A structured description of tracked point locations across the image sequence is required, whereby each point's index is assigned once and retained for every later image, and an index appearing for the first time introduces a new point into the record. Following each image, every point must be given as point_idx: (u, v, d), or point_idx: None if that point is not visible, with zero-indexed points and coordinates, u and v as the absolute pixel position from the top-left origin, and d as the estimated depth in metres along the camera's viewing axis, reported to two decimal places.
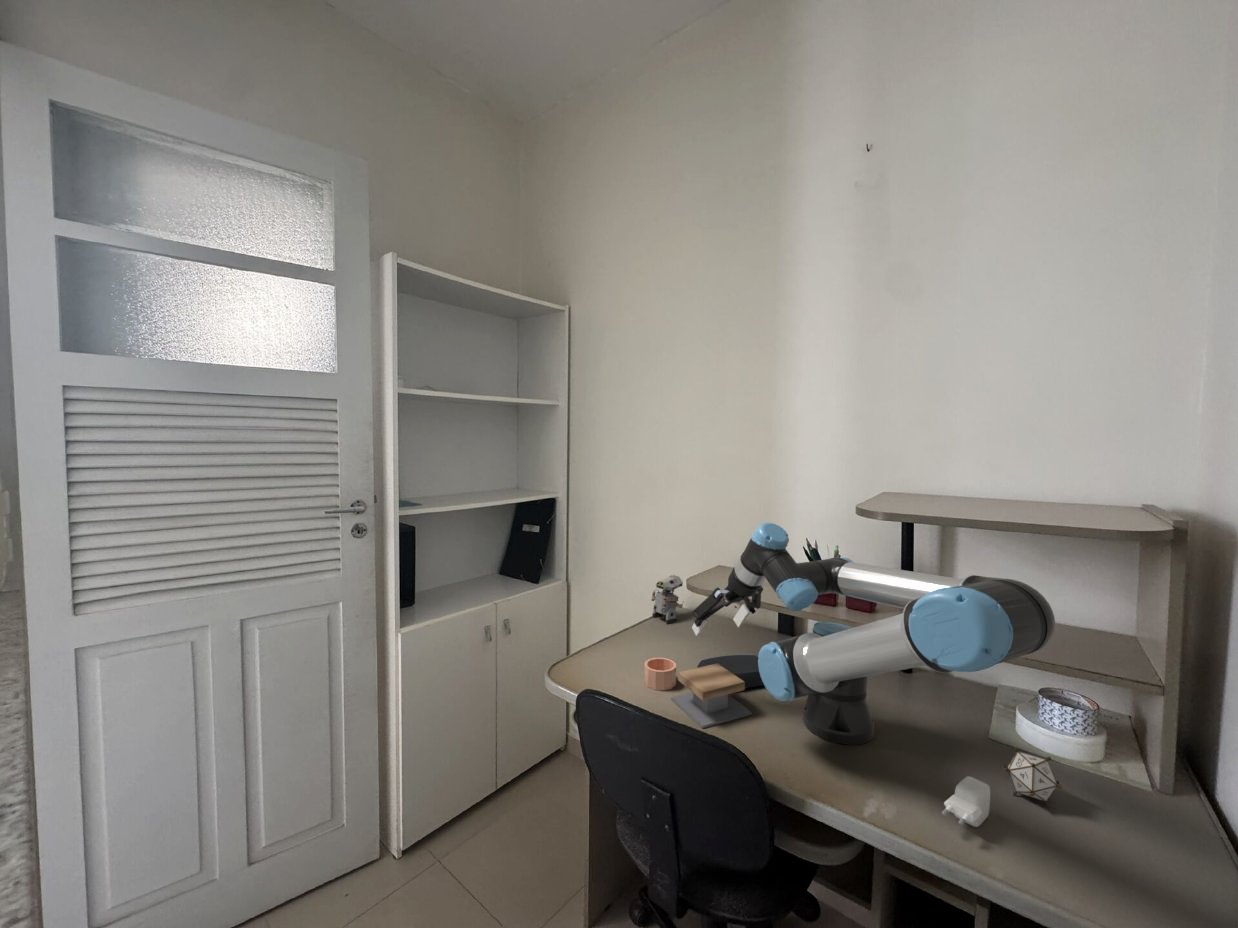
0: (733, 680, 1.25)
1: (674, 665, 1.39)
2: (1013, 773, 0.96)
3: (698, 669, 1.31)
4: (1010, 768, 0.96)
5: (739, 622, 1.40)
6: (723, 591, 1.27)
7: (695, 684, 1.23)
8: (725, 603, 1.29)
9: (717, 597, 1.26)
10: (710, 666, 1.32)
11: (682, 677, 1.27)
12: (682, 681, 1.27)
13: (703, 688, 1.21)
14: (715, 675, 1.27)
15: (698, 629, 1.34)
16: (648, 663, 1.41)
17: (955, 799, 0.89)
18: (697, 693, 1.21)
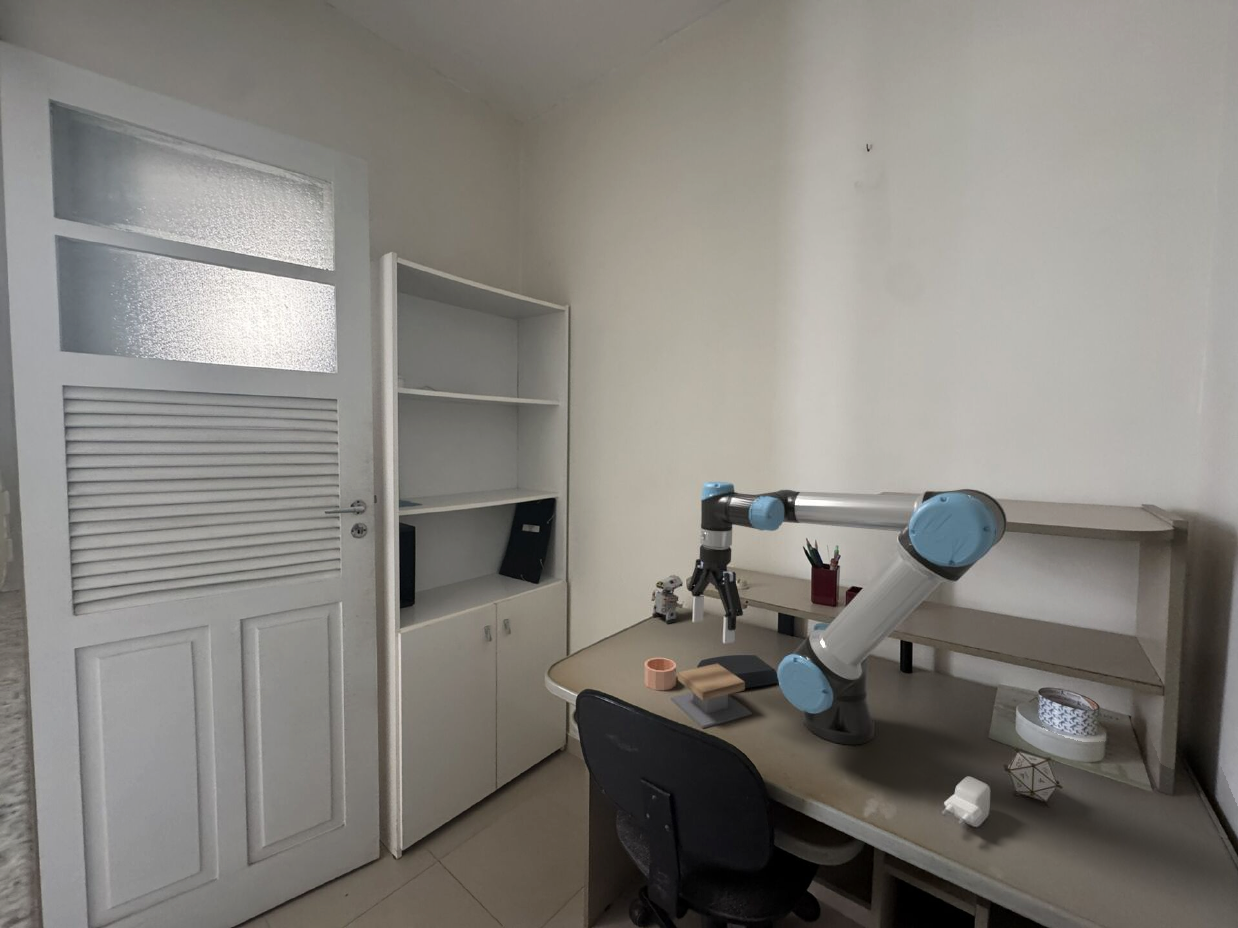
0: (733, 680, 1.25)
1: (674, 665, 1.39)
2: (1013, 773, 0.96)
3: (698, 669, 1.31)
4: (1010, 768, 0.96)
5: (701, 616, 1.33)
6: (727, 572, 1.21)
7: (695, 684, 1.23)
8: None
9: (734, 578, 1.19)
10: (710, 666, 1.32)
11: (682, 677, 1.27)
12: (682, 681, 1.27)
13: (703, 688, 1.21)
14: (715, 675, 1.27)
15: (733, 633, 1.20)
16: (648, 663, 1.41)
17: (955, 799, 0.89)
18: (697, 693, 1.21)
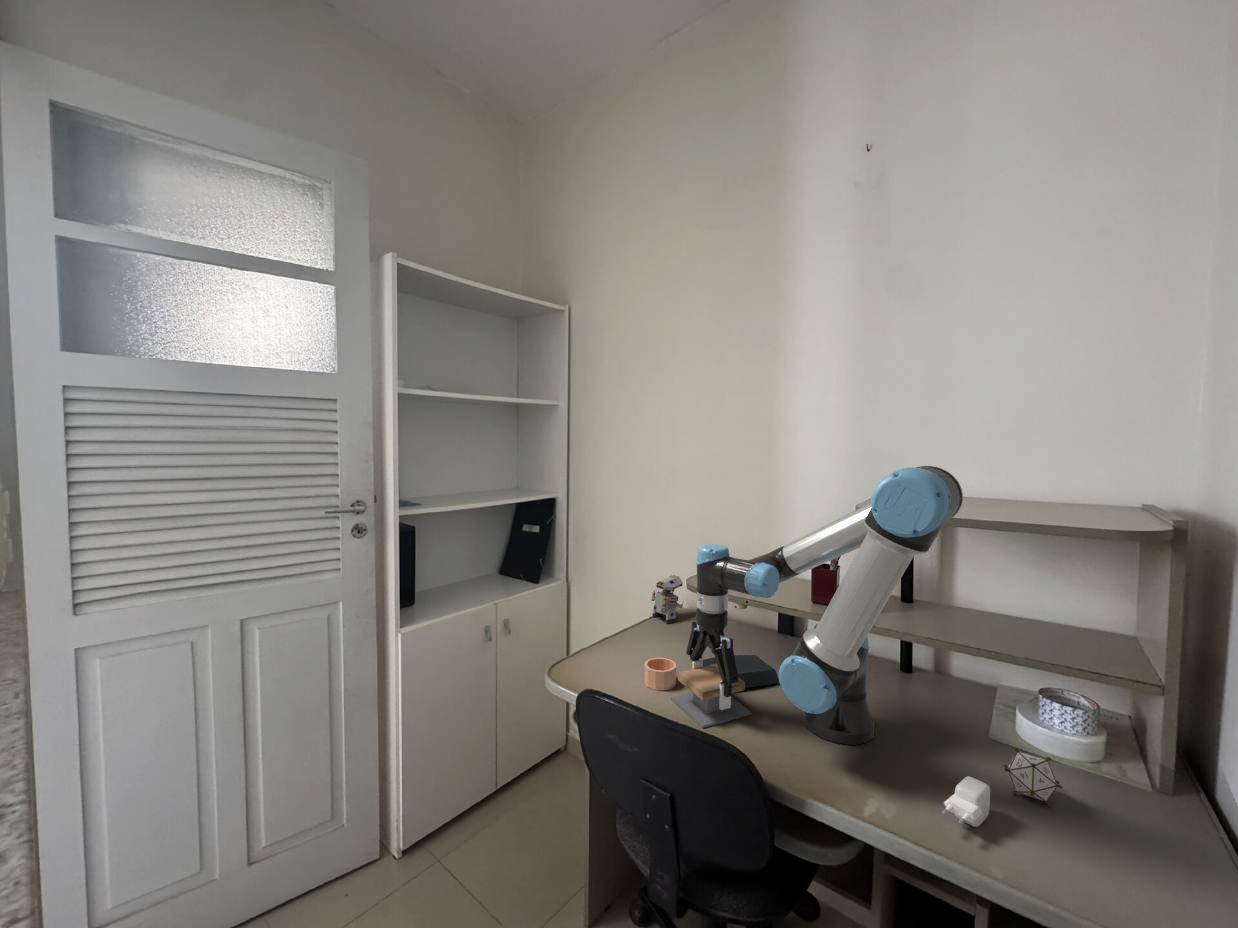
0: None
1: (674, 665, 1.39)
2: (1013, 773, 0.96)
3: (698, 669, 1.31)
4: (1010, 768, 0.96)
5: None
6: (724, 637, 1.21)
7: (695, 684, 1.23)
8: None
9: (731, 645, 1.20)
10: (710, 666, 1.32)
11: (682, 677, 1.27)
12: (682, 681, 1.27)
13: (703, 688, 1.21)
14: (715, 675, 1.27)
15: (729, 698, 1.22)
16: (648, 663, 1.41)
17: (955, 799, 0.89)
18: (697, 693, 1.21)
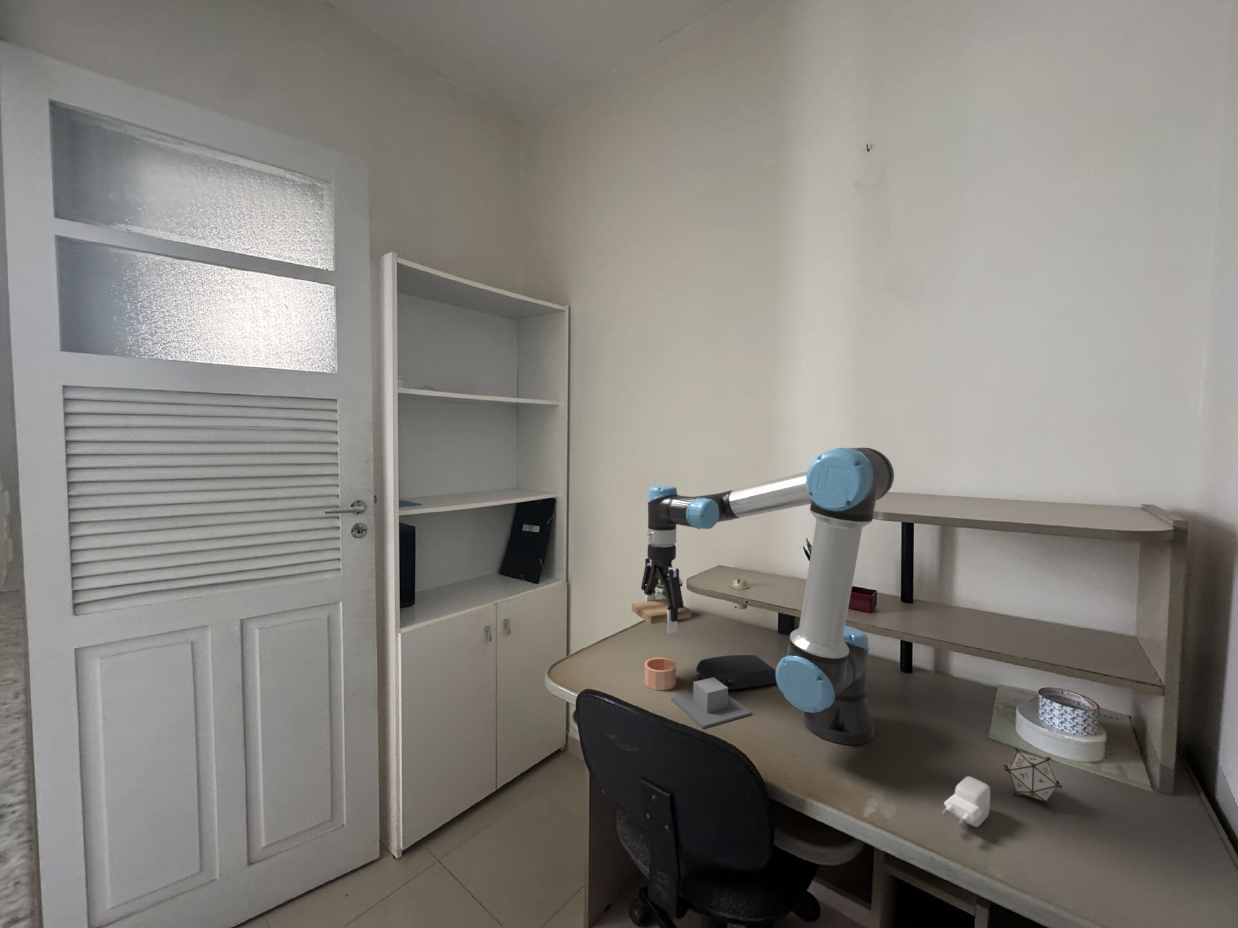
0: (681, 609, 1.36)
1: (674, 665, 1.39)
2: (1013, 773, 0.96)
3: (651, 601, 1.42)
4: (1010, 768, 0.96)
5: None
6: (671, 568, 1.33)
7: (645, 611, 1.34)
8: None
9: (677, 574, 1.32)
10: (662, 599, 1.44)
11: (635, 607, 1.39)
12: (635, 611, 1.39)
13: (651, 614, 1.32)
14: (665, 605, 1.39)
15: (675, 624, 1.33)
16: (648, 663, 1.41)
17: (955, 799, 0.89)
18: (646, 618, 1.33)
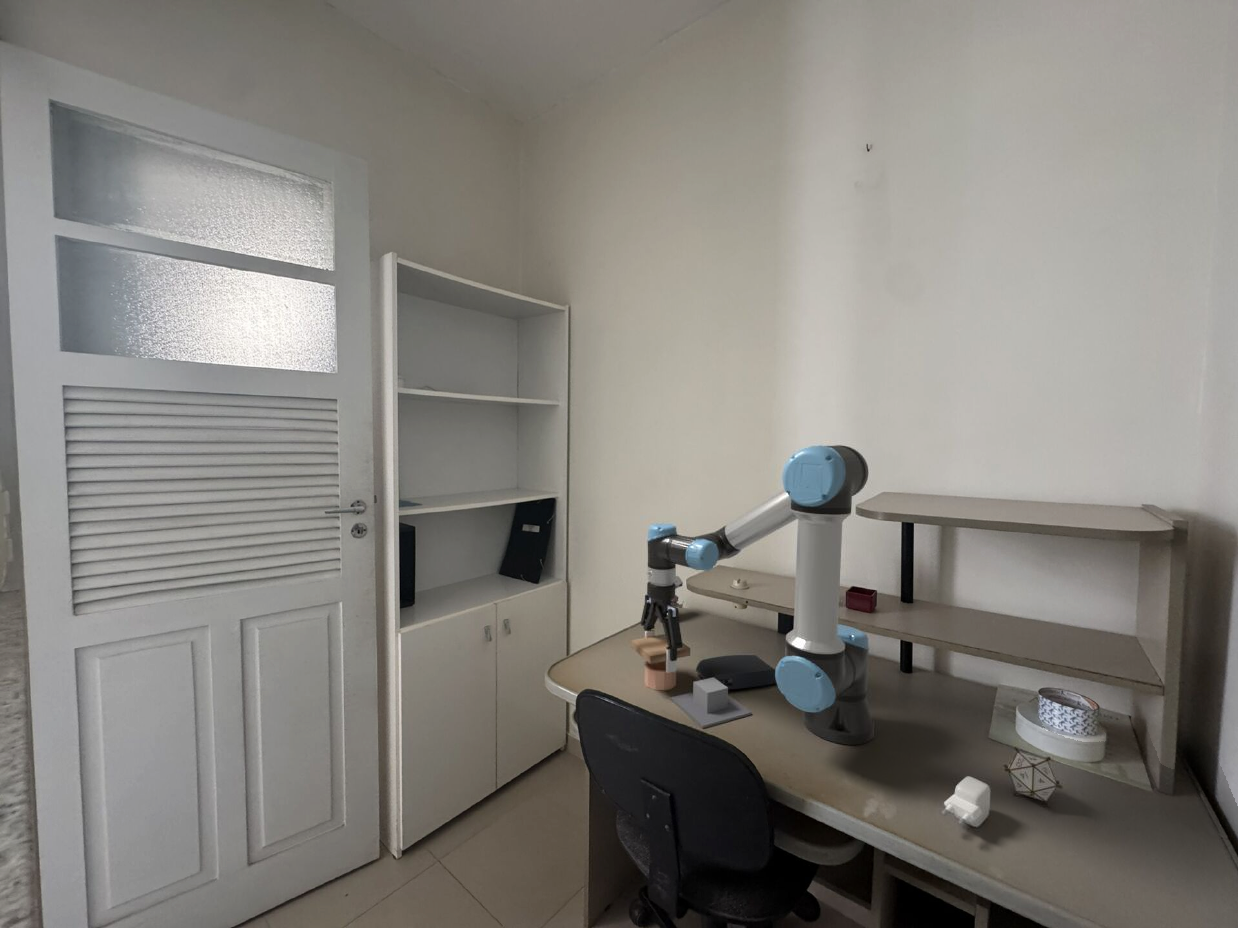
0: None
1: None
2: (1013, 773, 0.96)
3: (650, 638, 1.43)
4: (1010, 768, 0.96)
5: None
6: (671, 607, 1.33)
7: (644, 650, 1.35)
8: None
9: (676, 613, 1.32)
10: (662, 635, 1.44)
11: (634, 644, 1.39)
12: (634, 648, 1.39)
13: (651, 653, 1.33)
14: (665, 643, 1.39)
15: (675, 663, 1.34)
16: (648, 663, 1.41)
17: (955, 799, 0.89)
18: (646, 657, 1.33)
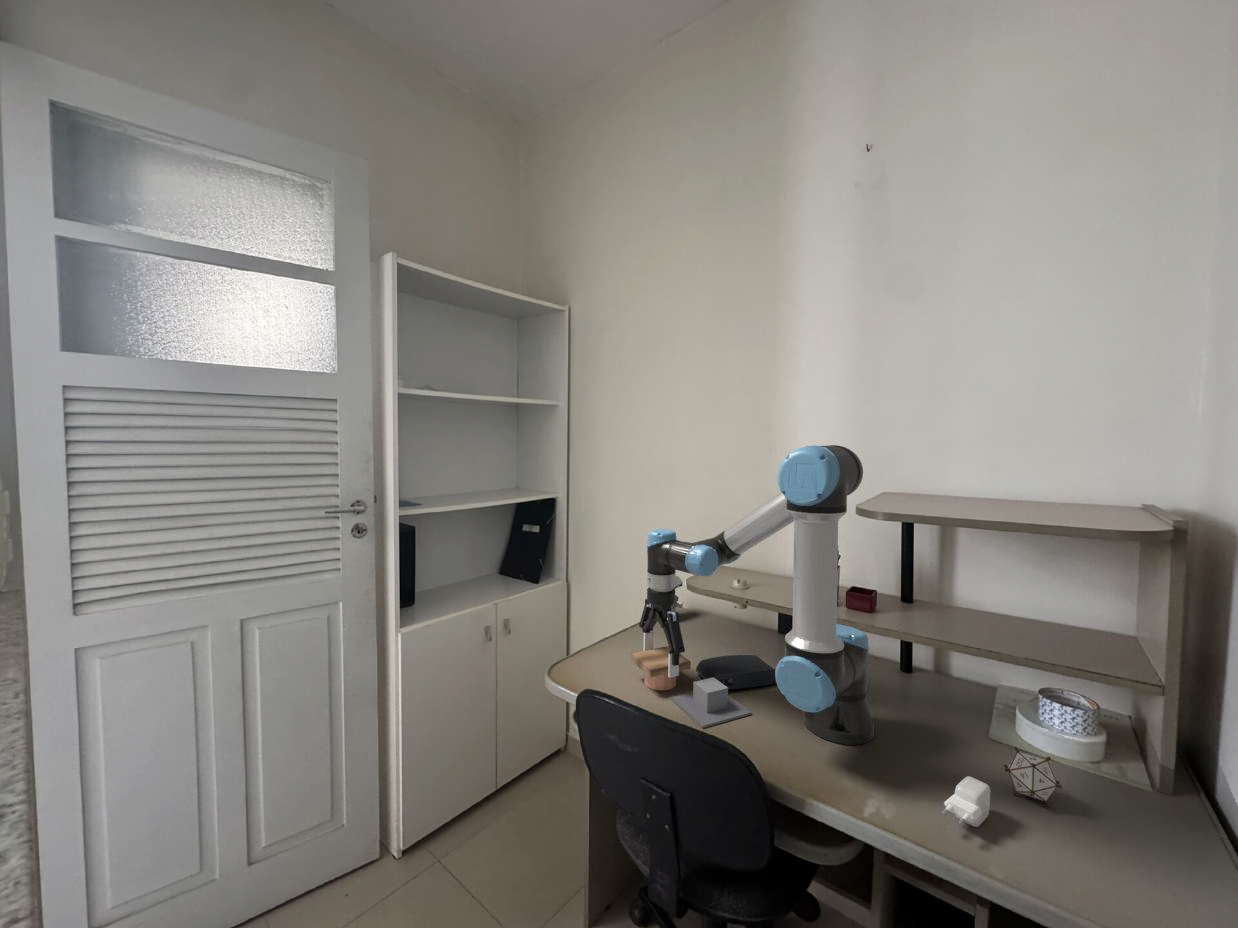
0: (680, 660, 1.37)
1: None
2: (1013, 773, 0.96)
3: (650, 651, 1.43)
4: (1010, 768, 0.96)
5: None
6: (670, 612, 1.34)
7: (645, 663, 1.35)
8: None
9: (677, 618, 1.32)
10: (662, 648, 1.45)
11: (634, 657, 1.39)
12: (634, 661, 1.40)
13: (651, 666, 1.33)
14: (665, 656, 1.40)
15: (677, 667, 1.33)
16: None
17: (955, 799, 0.89)
18: (646, 671, 1.34)
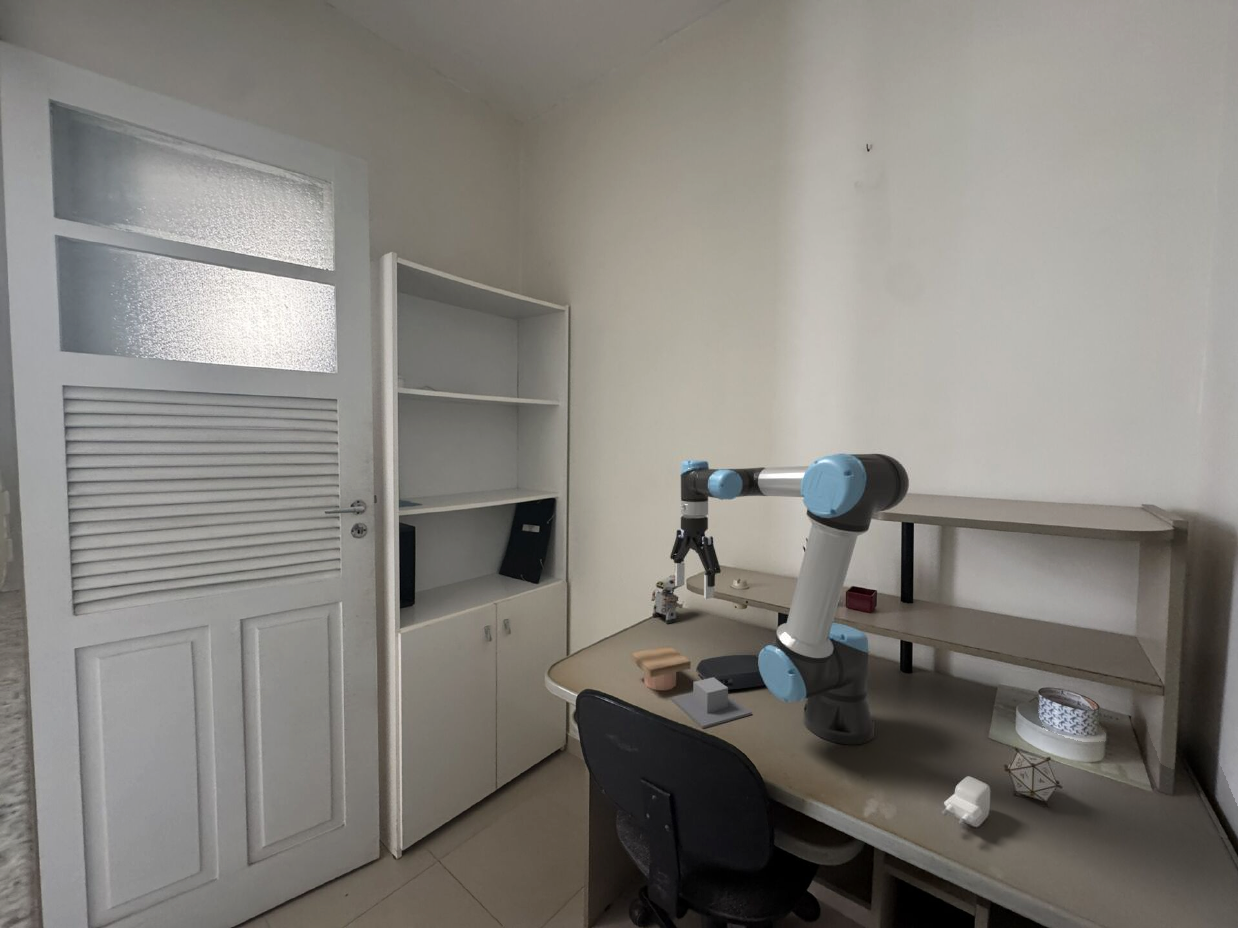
0: (680, 660, 1.37)
1: None
2: (1013, 773, 0.96)
3: (650, 651, 1.43)
4: (1010, 768, 0.96)
5: (683, 580, 1.51)
6: None
7: (645, 663, 1.35)
8: None
9: (711, 541, 1.38)
10: (662, 648, 1.45)
11: (634, 657, 1.39)
12: (634, 661, 1.40)
13: (651, 666, 1.33)
14: (665, 656, 1.40)
15: (712, 589, 1.39)
16: None
17: (955, 799, 0.89)
18: (646, 671, 1.34)
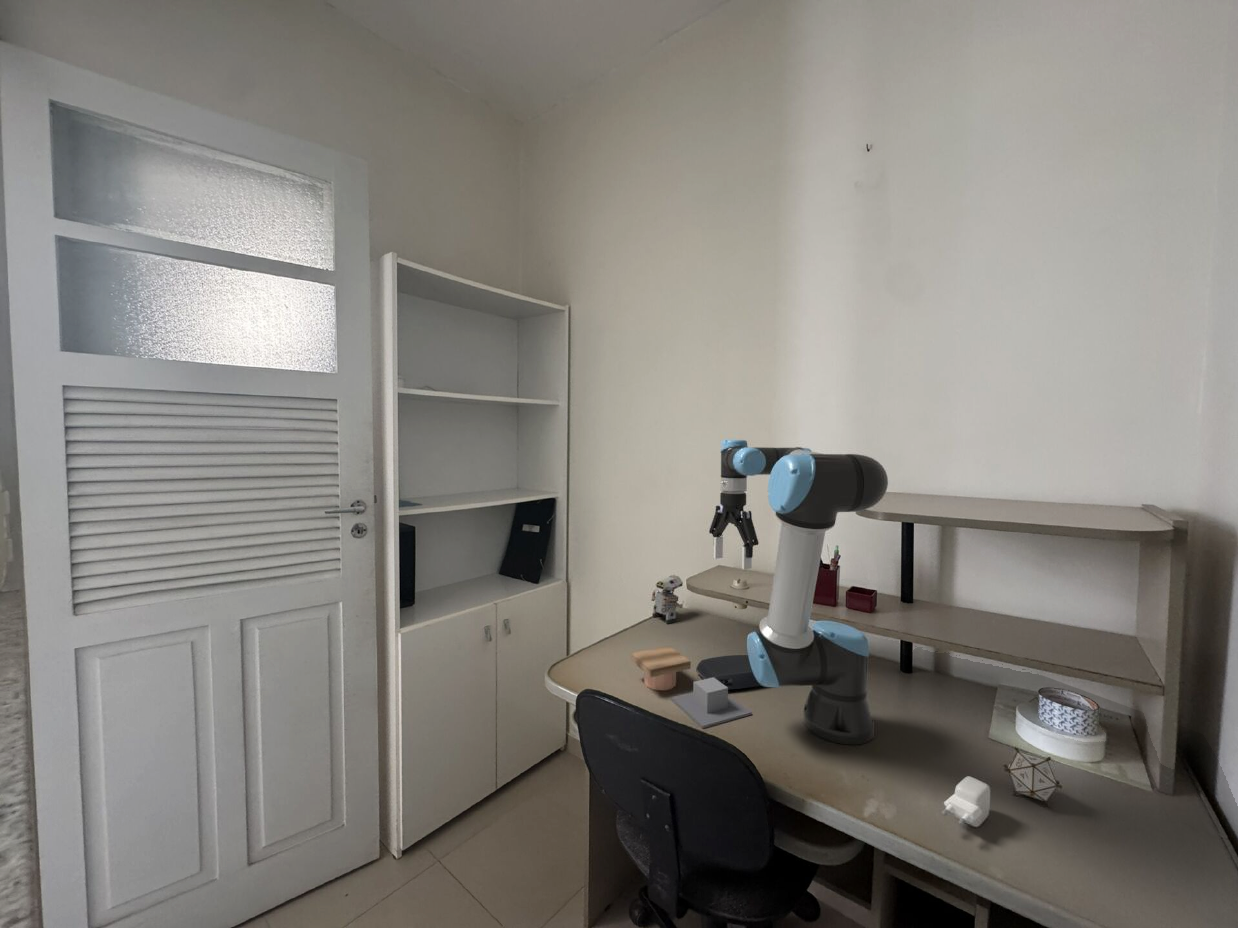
0: (680, 660, 1.37)
1: None
2: (1013, 773, 0.96)
3: (650, 651, 1.43)
4: (1010, 768, 0.96)
5: (721, 553, 1.60)
6: None
7: (645, 663, 1.35)
8: None
9: (750, 515, 1.47)
10: (662, 648, 1.45)
11: (634, 657, 1.39)
12: (634, 661, 1.40)
13: (651, 666, 1.33)
14: (665, 656, 1.40)
15: (750, 560, 1.47)
16: None
17: (955, 799, 0.89)
18: (646, 671, 1.34)
